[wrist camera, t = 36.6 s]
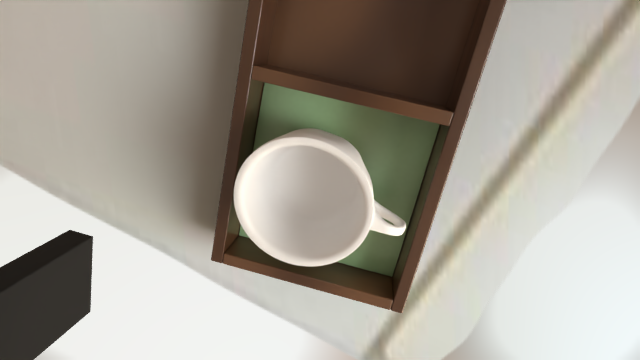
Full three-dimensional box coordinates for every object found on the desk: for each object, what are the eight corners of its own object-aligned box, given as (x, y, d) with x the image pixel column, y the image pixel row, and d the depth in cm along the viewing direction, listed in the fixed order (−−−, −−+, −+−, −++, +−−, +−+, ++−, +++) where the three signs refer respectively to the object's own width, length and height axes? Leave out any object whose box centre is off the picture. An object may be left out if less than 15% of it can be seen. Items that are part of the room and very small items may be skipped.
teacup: (248, 206, 29) (219, 238, 24) (279, 103, 26) (253, 114, 21) (381, 256, 28) (381, 300, 23) (425, 156, 26) (436, 180, 21)
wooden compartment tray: (530, -119, 22) (558, -153, 18) (400, 284, 29) (402, 314, 26) (294, -163, 23) (277, -203, 19) (230, 237, 31) (210, 260, 27)
